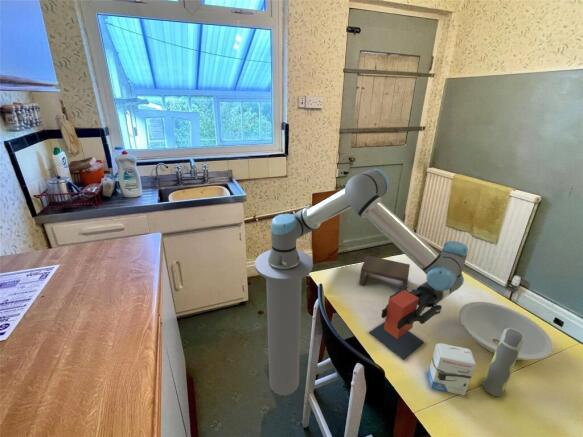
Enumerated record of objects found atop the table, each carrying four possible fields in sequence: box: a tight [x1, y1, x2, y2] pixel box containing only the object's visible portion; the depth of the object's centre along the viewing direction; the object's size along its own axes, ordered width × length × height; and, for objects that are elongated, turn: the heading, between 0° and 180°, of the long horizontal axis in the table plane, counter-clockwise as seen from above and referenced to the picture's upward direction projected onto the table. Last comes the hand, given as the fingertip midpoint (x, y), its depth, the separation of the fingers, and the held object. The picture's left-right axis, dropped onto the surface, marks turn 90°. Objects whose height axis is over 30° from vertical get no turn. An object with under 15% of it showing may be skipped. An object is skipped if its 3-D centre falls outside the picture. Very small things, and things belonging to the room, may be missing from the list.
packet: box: [384, 290, 419, 339], centre depth 89 cm, size 5×8×12 cm, turn 126°
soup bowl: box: [458, 301, 554, 361], centre depth 91 cm, size 24×24×7 cm
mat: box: [369, 321, 425, 361], centre depth 93 cm, size 13×11×1 cm
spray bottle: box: [481, 328, 524, 397], centre depth 73 cm, size 5×5×20 cm
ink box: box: [427, 342, 477, 396], centre depth 76 cm, size 8×5×12 cm, turn 76°
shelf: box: [358, 255, 411, 290], centre depth 120 cm, size 18×12×8 cm, turn 66°
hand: (390, 319), depth 86 cm, fingers closed on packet, 5 cm apart
